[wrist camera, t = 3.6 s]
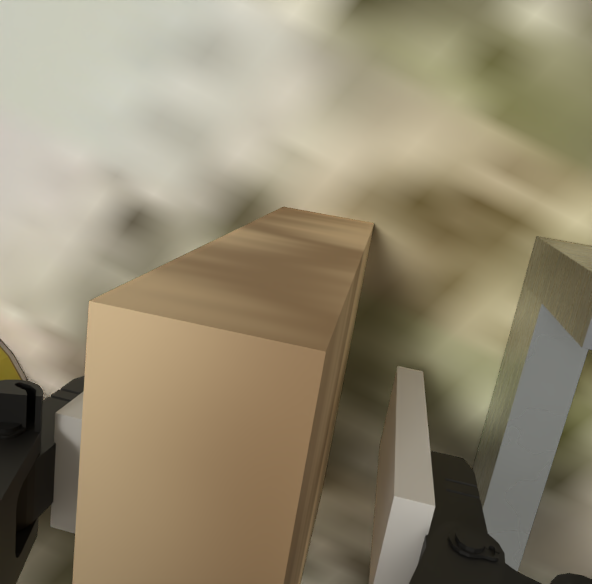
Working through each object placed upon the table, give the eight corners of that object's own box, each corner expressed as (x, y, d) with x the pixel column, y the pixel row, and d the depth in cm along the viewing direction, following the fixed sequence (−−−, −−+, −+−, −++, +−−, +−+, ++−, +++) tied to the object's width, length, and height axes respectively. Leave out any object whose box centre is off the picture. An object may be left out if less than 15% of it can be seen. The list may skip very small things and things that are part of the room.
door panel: (243, 471, 21) (56, 851, 10) (283, 206, 18) (88, 300, 7) (322, 491, 21) (223, 911, 9) (374, 223, 18) (325, 351, 7)
